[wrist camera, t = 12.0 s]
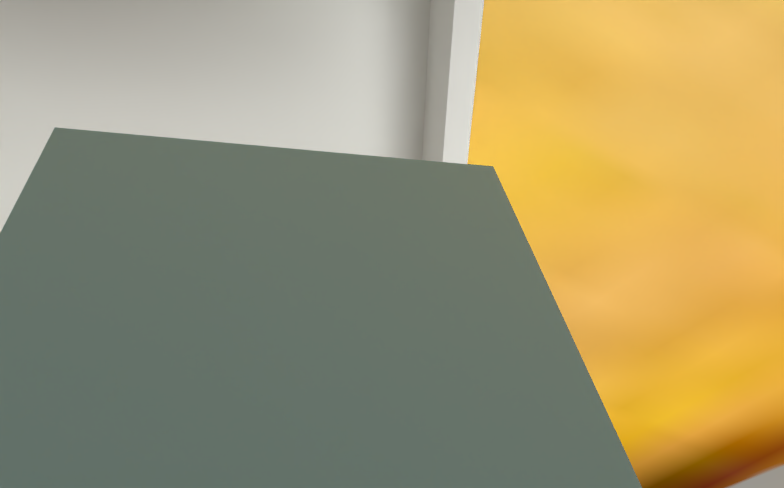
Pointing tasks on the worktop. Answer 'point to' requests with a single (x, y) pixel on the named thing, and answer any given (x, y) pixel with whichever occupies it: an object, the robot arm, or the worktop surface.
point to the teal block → (282, 326)
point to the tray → (239, 75)
